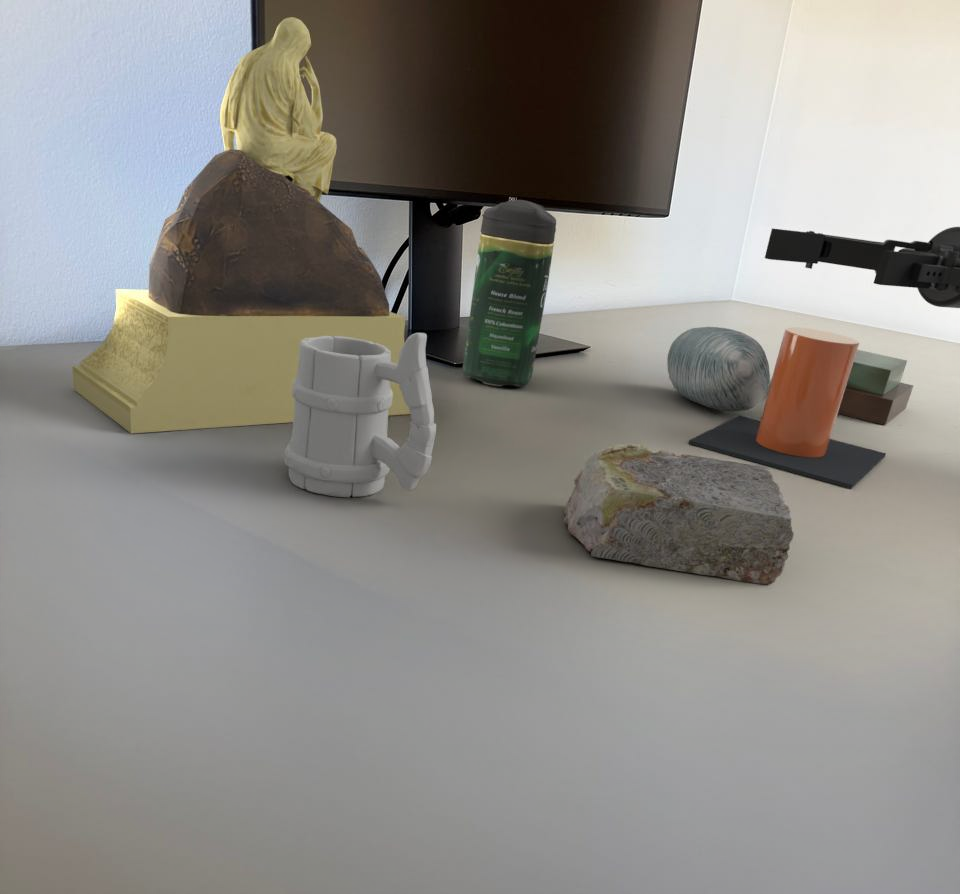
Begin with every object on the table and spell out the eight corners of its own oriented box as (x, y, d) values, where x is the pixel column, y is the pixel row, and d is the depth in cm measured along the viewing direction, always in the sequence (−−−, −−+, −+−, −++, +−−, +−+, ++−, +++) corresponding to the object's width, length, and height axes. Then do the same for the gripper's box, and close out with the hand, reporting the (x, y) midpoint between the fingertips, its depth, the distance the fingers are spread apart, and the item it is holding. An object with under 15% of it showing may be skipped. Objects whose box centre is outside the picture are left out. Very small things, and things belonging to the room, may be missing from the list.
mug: (328, 457, 77) (338, 299, 71) (453, 499, 72) (475, 334, 66) (261, 477, 71) (267, 306, 65) (393, 524, 66) (411, 344, 60)
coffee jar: (528, 393, 105) (557, 208, 97) (456, 381, 106) (479, 196, 97) (535, 375, 114) (562, 204, 105) (469, 364, 114) (490, 192, 106)
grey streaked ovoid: (661, 401, 118) (637, 340, 111) (722, 351, 118) (702, 287, 111) (733, 452, 109) (712, 389, 102) (799, 398, 109) (782, 332, 102)
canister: (832, 449, 100) (866, 340, 95) (815, 462, 94) (850, 346, 89) (766, 432, 102) (796, 325, 97) (746, 443, 97) (776, 330, 92)
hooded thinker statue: (351, 378, 101) (375, 42, 87) (423, 412, 92) (462, 47, 79) (73, 389, 84) (49, -25, 70) (131, 433, 75) (115, -28, 62)
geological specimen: (813, 519, 63) (587, 475, 62) (782, 601, 66) (565, 561, 65) (776, 464, 72) (578, 426, 71) (750, 539, 75) (560, 503, 74)
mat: (884, 456, 101) (886, 453, 101) (851, 489, 89) (852, 484, 89) (738, 418, 108) (739, 415, 108) (688, 443, 95) (689, 439, 95)
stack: (905, 408, 126) (921, 361, 124) (885, 425, 115) (901, 374, 113) (800, 383, 132) (813, 338, 129) (771, 397, 121) (784, 348, 118)
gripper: (1069, 334, 91) (920, 326, 81) (864, 285, 110) (722, 274, 100) (1103, 248, 87) (952, 229, 77) (885, 213, 106) (740, 194, 96)
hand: (822, 255), depth 88 cm, fingers open, 13 cm apart
